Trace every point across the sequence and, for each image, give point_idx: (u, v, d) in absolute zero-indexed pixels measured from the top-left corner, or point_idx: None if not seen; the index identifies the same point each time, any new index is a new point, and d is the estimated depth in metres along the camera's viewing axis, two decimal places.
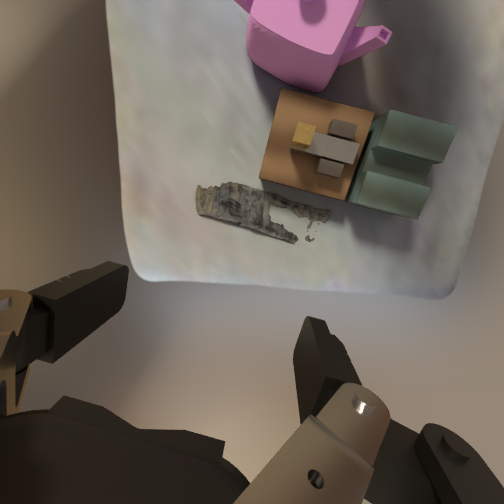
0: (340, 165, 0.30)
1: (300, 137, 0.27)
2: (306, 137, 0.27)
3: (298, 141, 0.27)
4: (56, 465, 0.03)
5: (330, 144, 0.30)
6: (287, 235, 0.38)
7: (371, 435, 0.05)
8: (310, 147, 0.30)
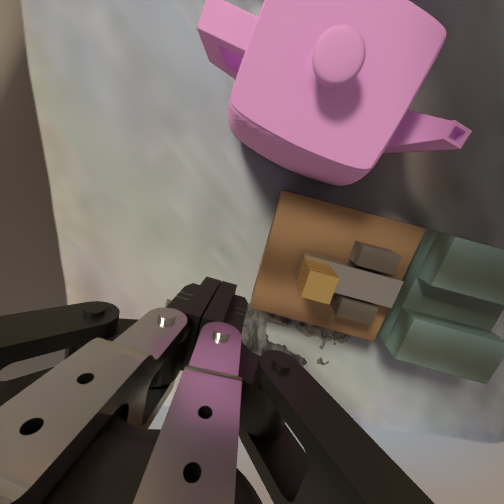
0: (372, 309, 0.20)
1: (313, 292, 0.17)
2: (323, 293, 0.17)
3: (310, 297, 0.17)
4: (56, 465, 0.03)
5: (357, 280, 0.19)
6: None
7: (208, 351, 0.06)
8: None
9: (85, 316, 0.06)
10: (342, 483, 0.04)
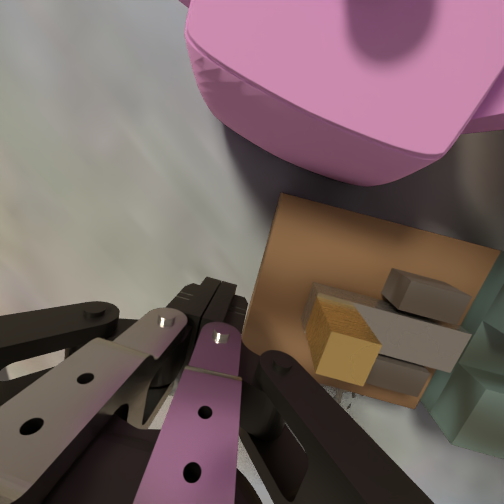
0: (421, 375, 0.13)
1: (336, 367, 0.10)
2: (353, 368, 0.10)
3: (330, 375, 0.10)
4: (56, 465, 0.03)
5: (399, 332, 0.13)
6: None
7: (208, 351, 0.06)
8: None
9: (85, 316, 0.06)
10: (342, 483, 0.04)
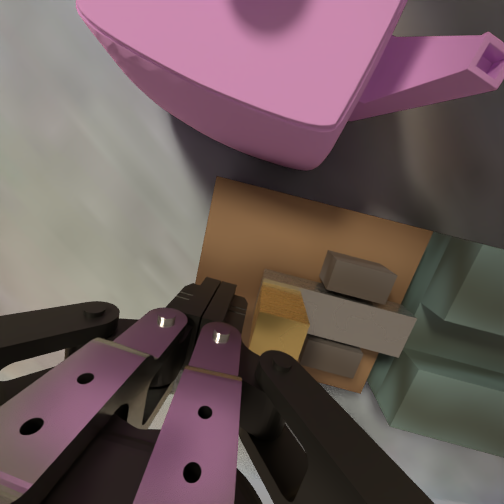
0: (354, 356, 0.13)
1: (267, 348, 0.10)
2: (284, 349, 0.10)
3: None
4: (56, 465, 0.03)
5: (346, 316, 0.13)
6: None
7: (208, 351, 0.06)
8: None
9: (85, 316, 0.06)
10: (342, 483, 0.04)
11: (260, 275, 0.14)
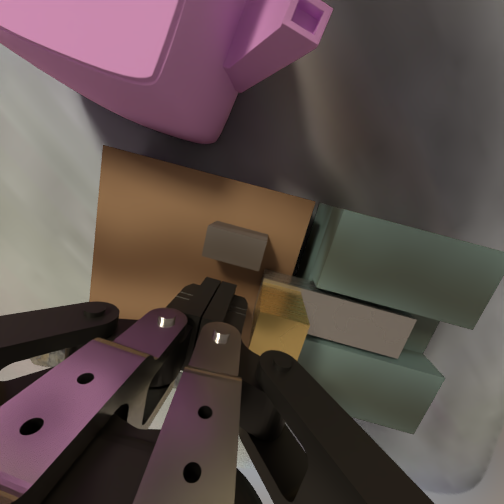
0: None
1: (267, 348, 0.10)
2: (284, 349, 0.10)
3: None
4: (56, 465, 0.03)
5: (346, 317, 0.13)
6: None
7: (208, 351, 0.06)
8: None
9: (85, 316, 0.06)
10: (342, 483, 0.04)
11: (154, 247, 0.15)
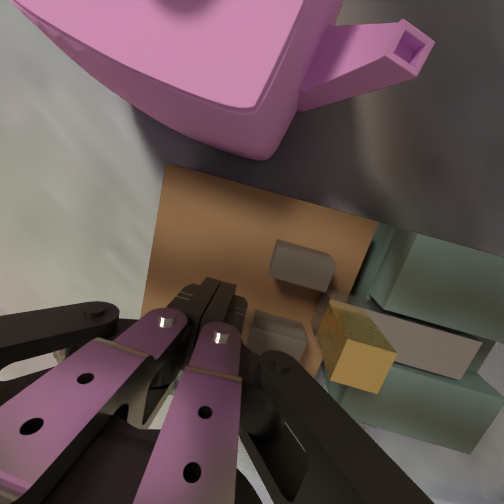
0: (297, 343, 0.13)
1: (351, 375, 0.10)
2: (368, 376, 0.10)
3: (345, 382, 0.10)
4: (56, 465, 0.03)
5: (410, 338, 0.13)
6: None
7: (208, 351, 0.06)
8: None
9: (85, 316, 0.06)
10: (342, 483, 0.04)
11: (211, 263, 0.15)
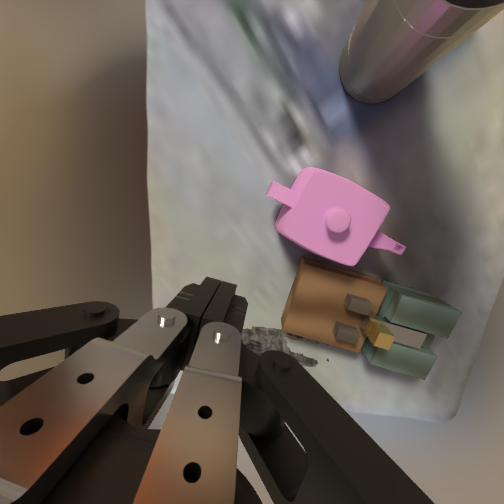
0: (357, 335, 0.34)
1: (380, 344, 0.31)
2: (386, 344, 0.31)
3: (378, 346, 0.31)
4: (56, 465, 0.03)
5: (400, 333, 0.33)
6: (309, 361, 0.42)
7: (208, 351, 0.06)
8: None
9: (85, 316, 0.06)
10: (342, 483, 0.04)
11: (319, 302, 0.35)
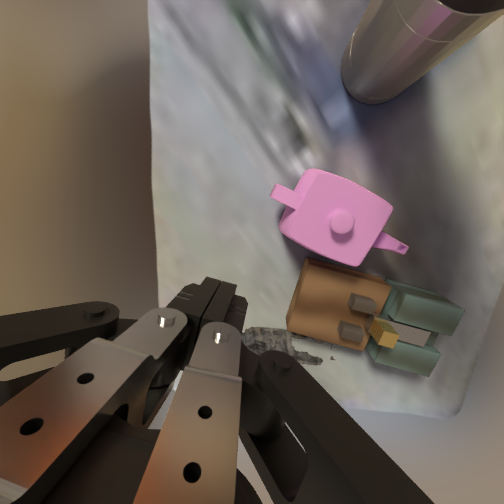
0: (361, 333, 0.34)
1: (385, 342, 0.31)
2: (390, 342, 0.31)
3: (383, 344, 0.31)
4: (56, 465, 0.03)
5: (404, 331, 0.34)
6: (313, 360, 0.42)
7: (208, 351, 0.06)
8: None
9: (85, 316, 0.06)
10: (342, 483, 0.04)
11: (323, 302, 0.36)
